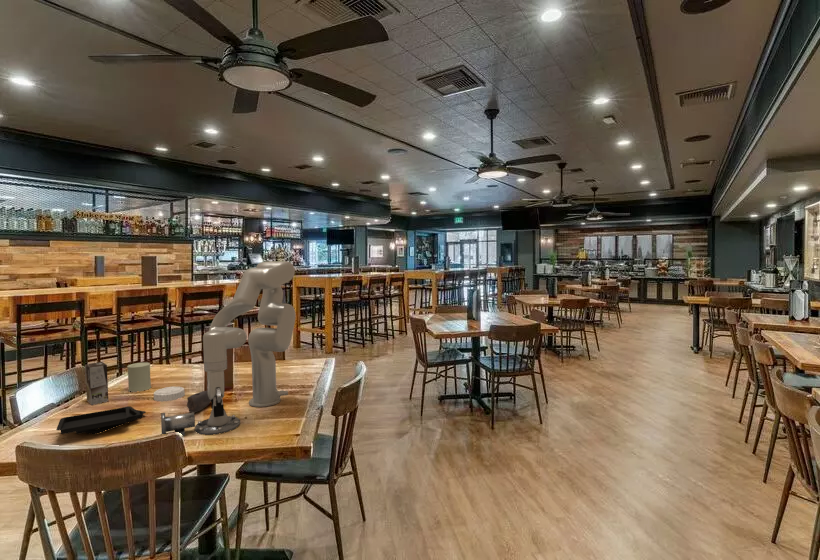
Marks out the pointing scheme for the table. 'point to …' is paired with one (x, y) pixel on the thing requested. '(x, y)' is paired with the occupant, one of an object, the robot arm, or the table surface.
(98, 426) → the tray
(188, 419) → the pipe fitting
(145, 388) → the can
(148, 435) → the table surface
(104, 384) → the coffee box
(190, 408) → the perforated stone tool
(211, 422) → the flask
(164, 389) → the mooncake
